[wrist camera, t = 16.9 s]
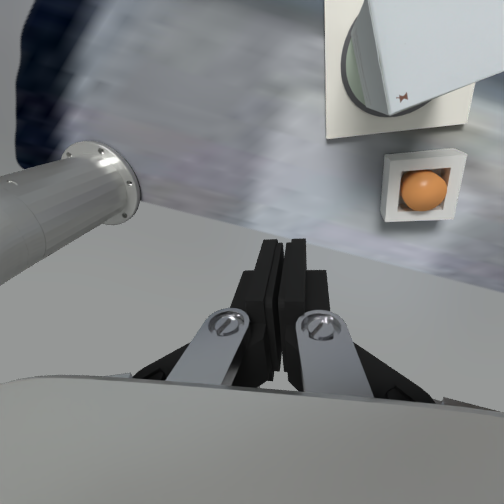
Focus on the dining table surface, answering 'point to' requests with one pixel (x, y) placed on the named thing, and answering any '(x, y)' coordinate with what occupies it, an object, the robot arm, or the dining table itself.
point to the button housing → (439, 161)
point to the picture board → (351, 95)
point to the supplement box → (425, 49)
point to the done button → (422, 189)
